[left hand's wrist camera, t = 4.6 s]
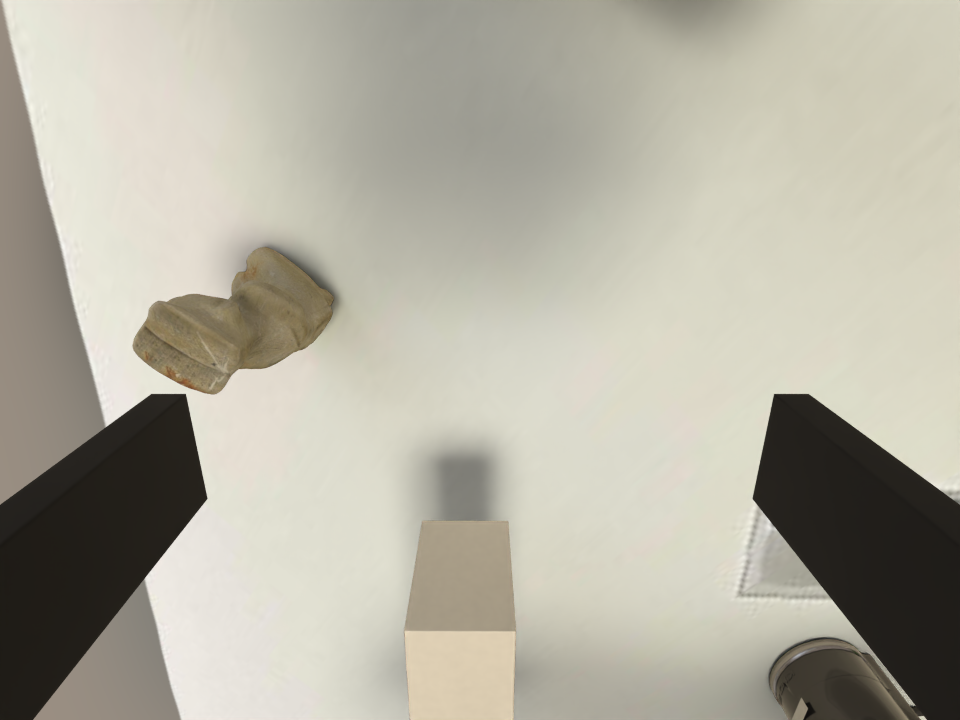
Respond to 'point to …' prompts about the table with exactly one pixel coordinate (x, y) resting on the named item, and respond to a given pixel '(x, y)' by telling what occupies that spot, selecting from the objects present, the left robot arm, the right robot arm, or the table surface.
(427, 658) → the box
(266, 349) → the sculpture
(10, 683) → the left robot arm
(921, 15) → the table surface
